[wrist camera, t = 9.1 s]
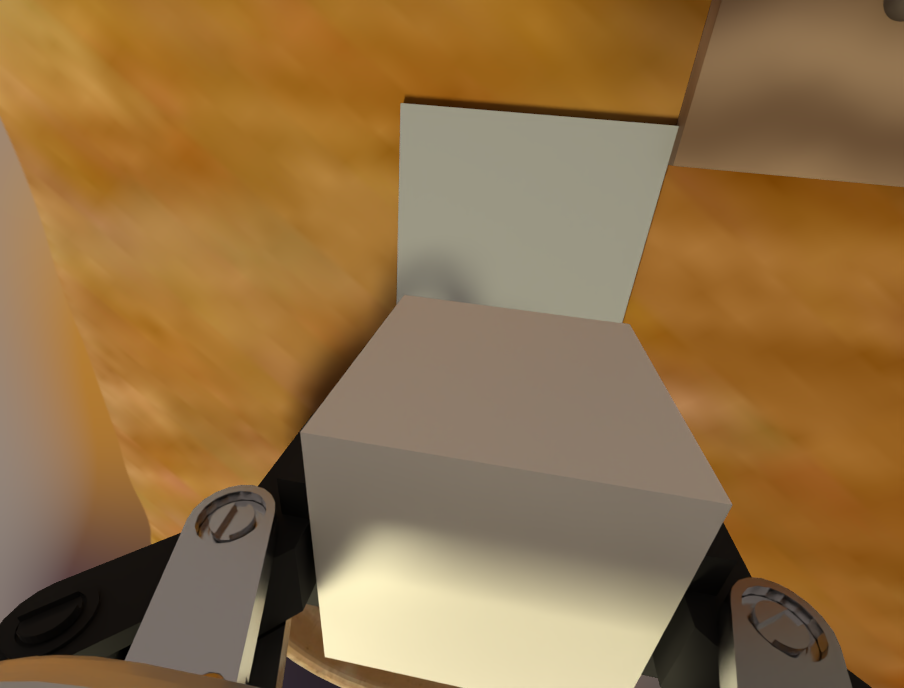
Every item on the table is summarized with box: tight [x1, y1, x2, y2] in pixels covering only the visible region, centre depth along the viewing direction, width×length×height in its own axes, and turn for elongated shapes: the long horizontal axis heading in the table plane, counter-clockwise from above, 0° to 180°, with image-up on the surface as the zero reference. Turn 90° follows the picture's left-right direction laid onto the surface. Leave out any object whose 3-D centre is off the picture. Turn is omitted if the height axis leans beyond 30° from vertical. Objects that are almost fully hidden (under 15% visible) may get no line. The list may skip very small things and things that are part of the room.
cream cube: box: [300, 295, 732, 688], centre depth 9 cm, size 6×6×6 cm
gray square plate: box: [397, 103, 679, 323], centre depth 28 cm, size 16×16×1 cm
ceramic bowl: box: [286, 604, 462, 688], centre depth 36 cm, size 37×29×10 cm
